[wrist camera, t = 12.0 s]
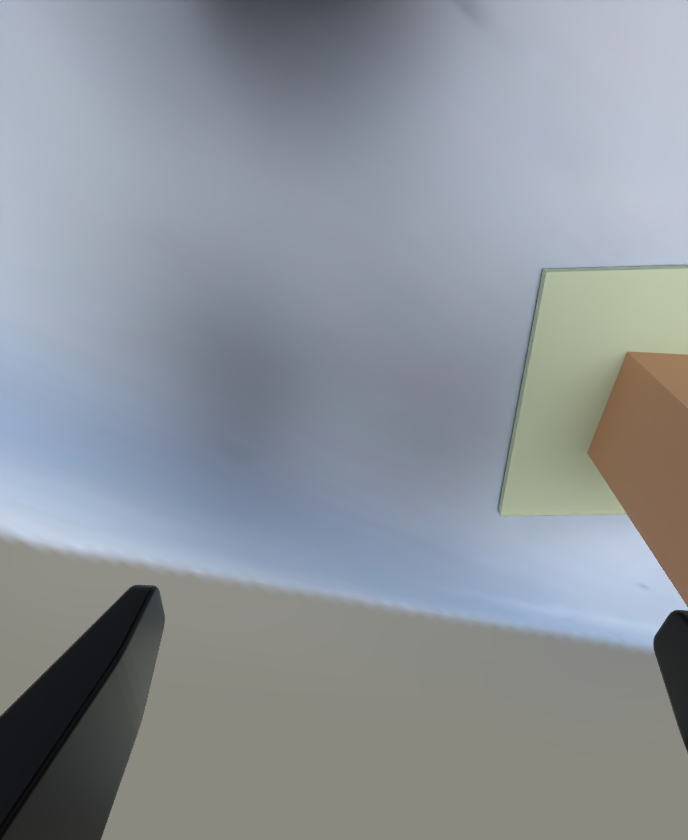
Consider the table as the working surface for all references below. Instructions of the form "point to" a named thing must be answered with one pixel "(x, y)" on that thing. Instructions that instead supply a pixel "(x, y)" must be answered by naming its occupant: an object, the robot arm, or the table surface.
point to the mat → (584, 378)
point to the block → (650, 454)
